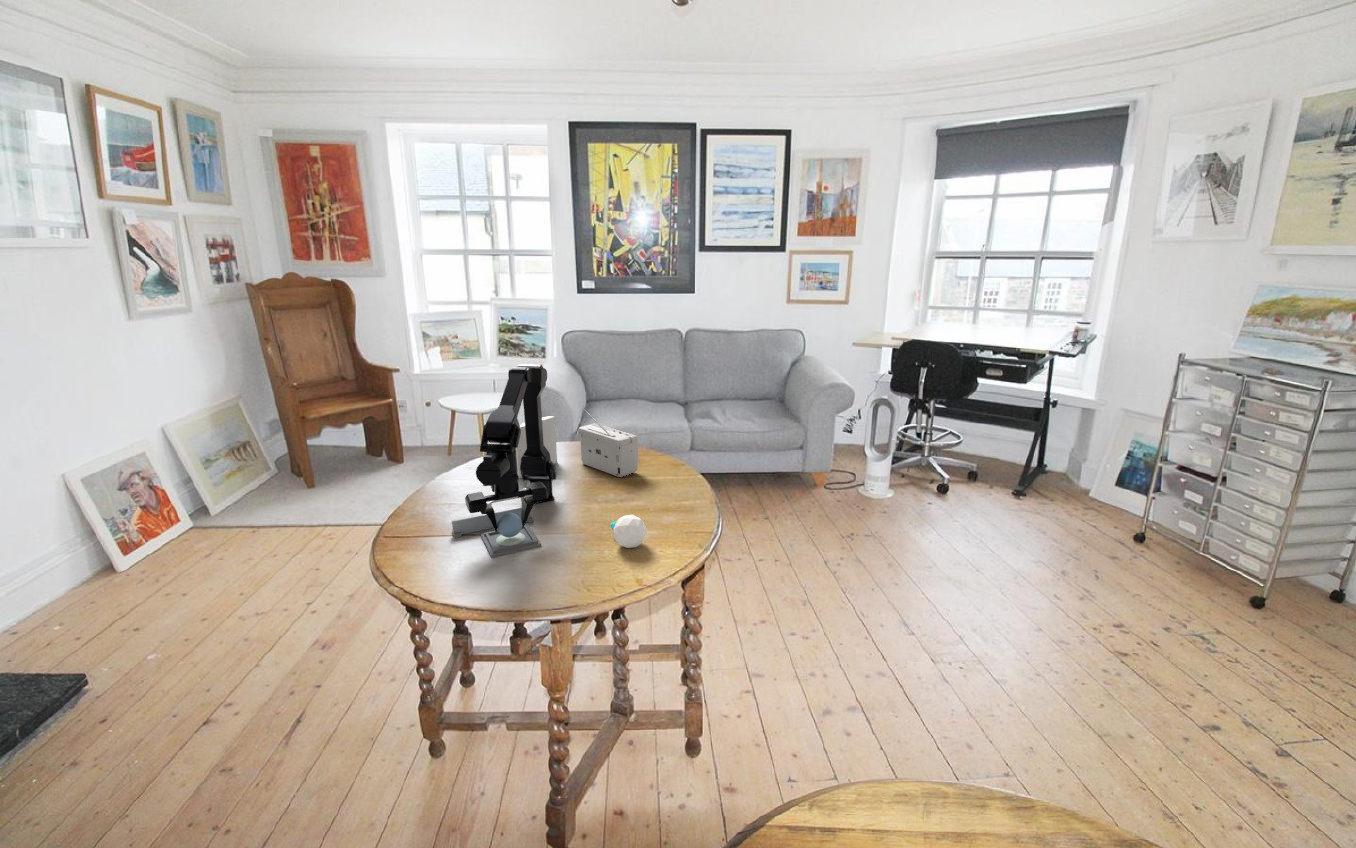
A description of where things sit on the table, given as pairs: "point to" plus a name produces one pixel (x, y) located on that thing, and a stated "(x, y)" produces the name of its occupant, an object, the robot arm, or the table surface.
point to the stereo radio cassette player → (608, 449)
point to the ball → (509, 525)
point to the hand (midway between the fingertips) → (509, 528)
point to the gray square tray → (510, 542)
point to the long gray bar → (482, 521)
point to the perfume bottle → (629, 531)
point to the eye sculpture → (548, 441)
